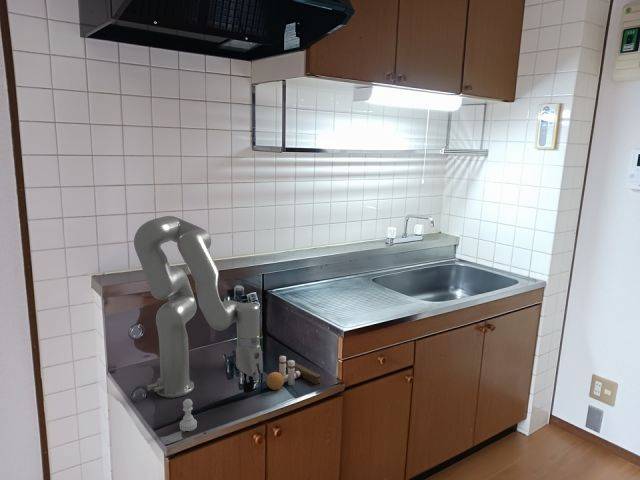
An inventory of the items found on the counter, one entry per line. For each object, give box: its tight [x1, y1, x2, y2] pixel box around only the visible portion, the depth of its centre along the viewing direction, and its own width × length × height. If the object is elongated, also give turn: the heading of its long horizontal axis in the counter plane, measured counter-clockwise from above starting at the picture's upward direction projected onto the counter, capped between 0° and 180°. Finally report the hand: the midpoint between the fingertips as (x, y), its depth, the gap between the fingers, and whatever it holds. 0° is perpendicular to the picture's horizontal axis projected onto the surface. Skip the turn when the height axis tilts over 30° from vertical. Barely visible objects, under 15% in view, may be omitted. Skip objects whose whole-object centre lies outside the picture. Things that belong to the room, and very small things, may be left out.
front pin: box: [283, 371, 301, 384], centre depth 179 cm, size 2×2×8 cm
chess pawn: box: [179, 398, 198, 432], centre depth 146 cm, size 5×5×9 cm
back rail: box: [286, 359, 322, 385], centre depth 183 cm, size 2×18×3 cm, turn 42°
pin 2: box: [287, 359, 296, 386], centre depth 176 cm, size 2×2×8 cm
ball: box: [266, 371, 285, 391], centre depth 172 cm, size 6×6×6 cm
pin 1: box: [278, 355, 287, 376], centre depth 179 cm, size 2×2×8 cm
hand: (248, 391), depth 167 cm, fingers closed
